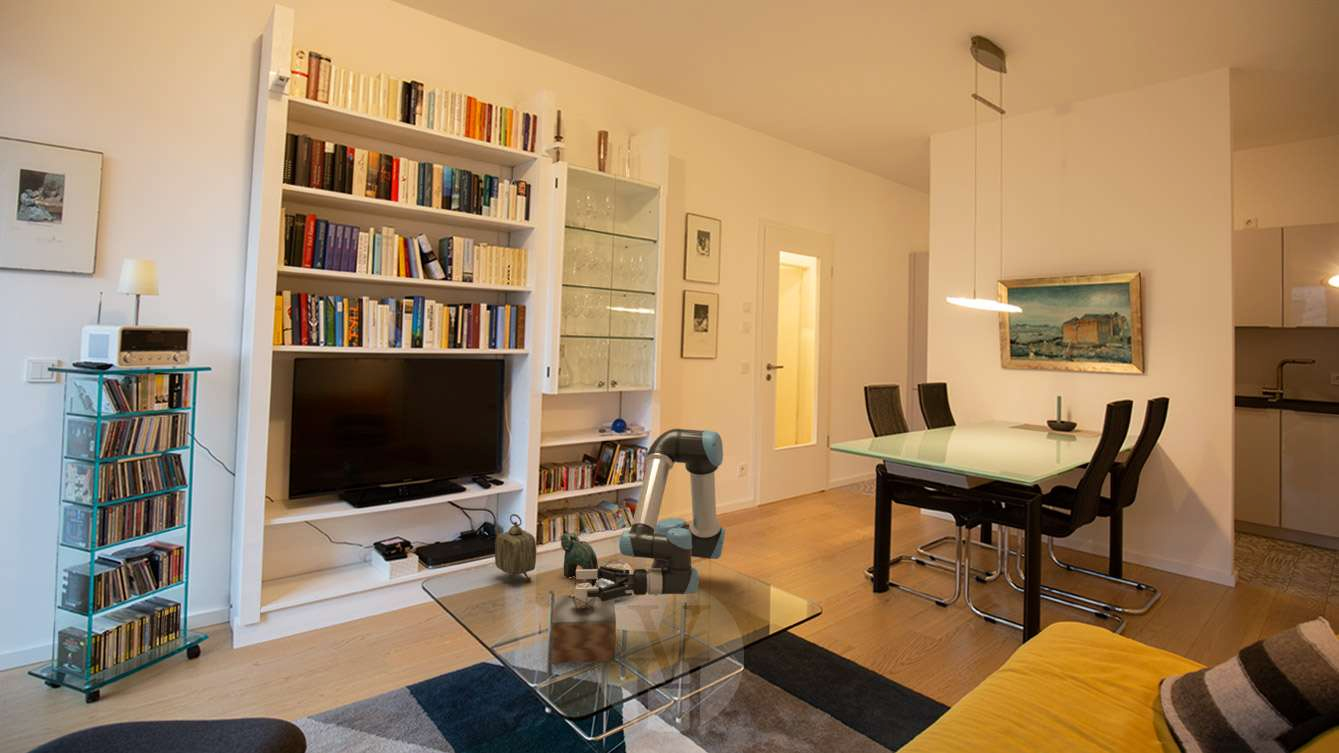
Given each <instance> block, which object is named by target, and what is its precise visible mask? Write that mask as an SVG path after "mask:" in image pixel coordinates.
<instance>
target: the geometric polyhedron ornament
mask: <svg viewBox="0 0 1339 753" xmlns="http://www.w3.org/2000/svg"><path fill="white" fill-rule="evenodd" d="M591 581H592V580H590V582H588V583H586V582H581V583H577V582H576V581H574V582H573V583H574V588H573V589H572V591H571V592H572V593H571V596H568V597H569V598H570V597H571V599H572V600H573V602H574V604H575V606H576V608H577V609H576V611H577V610H578V609H581V608H589V607H591V608H592V609H593V607H592V605H593V603H594V601H595V598H596V597H594V598H575V588H588V587H593V586H592V584H591Z"/></svg>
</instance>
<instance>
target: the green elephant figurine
mask: <svg viewBox="0 0 1339 753" xmlns="http://www.w3.org/2000/svg"><path fill="white" fill-rule="evenodd" d="M576 531H577V533H578V534H581V532H580V530H579V529H578V528H576V529H574V532H568V531H567V530H566V529H565V530H564V533H563V535H562V536H561V538H560V547H561V549H562V550H564V551H565V552H564V559H563V577H564V576H565V577H564V578H566V577H567V578H566V579H568V578H569V577H573V576H575V575H576V570H577V568H578V566H579V567H581V570H592V569H597V570H598V569H599V564H598V559H597V558H598V557H597V554H596V552H595V551H594V549H593V547H592V546H591V545H590V544H589V543H588V542H586V540H585V541H584V540H580V538H579V536H578V534H577V533H576ZM573 578H574V577H573ZM597 578H598V576H597ZM569 579H570V578H569ZM590 580H592V581H591V584H592V586H594V585H595V583H596V580H597V579H585V583H588V582H590Z"/></svg>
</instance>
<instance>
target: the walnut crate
mask: <svg viewBox="0 0 1339 753" xmlns="http://www.w3.org/2000/svg"><path fill="white" fill-rule="evenodd" d="M568 596H571V595H565V594H564V595H555V596H554V604H553V606H554V607H553V614H552V622H551V636H552V637H551V664H562V663H564V664H566V663H585V662H587V663H588V662H614V661H616V634H617V633H616V631H617V626H616V625H617V618H616V617H617V616H616V608H615V599H610V600H606V601H601V599H600V598H598V597H596V598H595V601H594V603H593V605H592V607H593V609H592V608H591V607H589V608H581V609H578V610H577V611H576V609H577V608H576V606H575V604H574V602H573V600H572V599H571V597H570V598H569V597H568Z"/></svg>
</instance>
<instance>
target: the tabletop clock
mask: <svg viewBox="0 0 1339 753" xmlns="http://www.w3.org/2000/svg"><path fill="white" fill-rule="evenodd" d="M512 517H516V518H517V519H518V520H519V524H518V522H517V521H513V520H512ZM509 520H510V523H511V524H512V526H511V527H510V528H509V530H508V531H505V532H502V533H498V535H497V536H496V537H495V541H494V543H495V544H494V560H495V561H494V563H495V566H496V568H498V569H499V570H501V571H502V572H503V573H507V574H508V575H509V577H508V578H507V581H508V582H512V581H513V577H512V576H519V575H521V574H523V575H524V576H525V578H526V581H527V583H530V582H531V581H532V577H530V576H528V574H527V572H531V571H534V570H535V569H536V563H537V543H536V542H537V541H536V538H535V536H534V535H533V534H531V533H530V532H527V531H526V530H523V529H522V527H521V525H522V519H521V517H520V516H519V515H518V514H515V513H513V514H511V515H510V517H509Z"/></svg>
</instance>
